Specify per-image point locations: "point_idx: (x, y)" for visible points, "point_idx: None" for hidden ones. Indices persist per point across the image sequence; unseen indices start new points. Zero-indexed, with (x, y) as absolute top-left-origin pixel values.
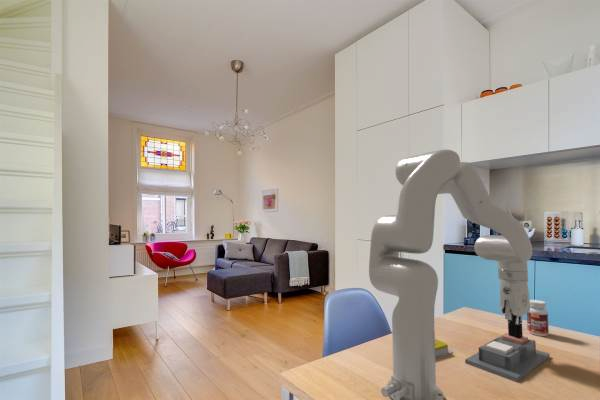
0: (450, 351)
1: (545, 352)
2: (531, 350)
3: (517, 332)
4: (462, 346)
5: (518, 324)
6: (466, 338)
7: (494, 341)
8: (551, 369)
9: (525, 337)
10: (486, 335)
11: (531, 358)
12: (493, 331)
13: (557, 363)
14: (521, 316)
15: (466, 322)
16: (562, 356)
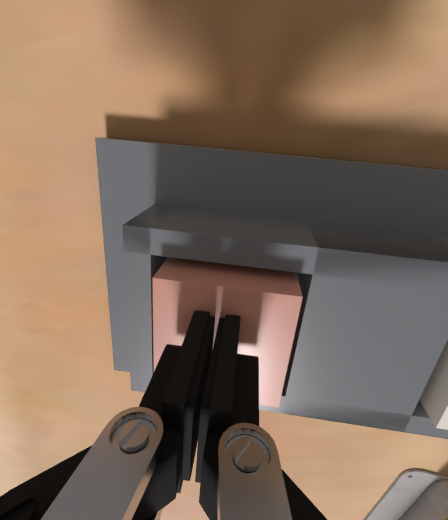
0: (417, 477)
1: (97, 161)
2: (223, 220)
3: (237, 361)
4: (309, 456)
5: (239, 429)
6: (196, 461)
7: (444, 424)
8: (313, 80)
9: (178, 290)
10: (83, 417)
11: (278, 202)
12: (4, 406)
13: (175, 74)
14: (90, 513)
15: (7, 490)
16: (24, 78)
